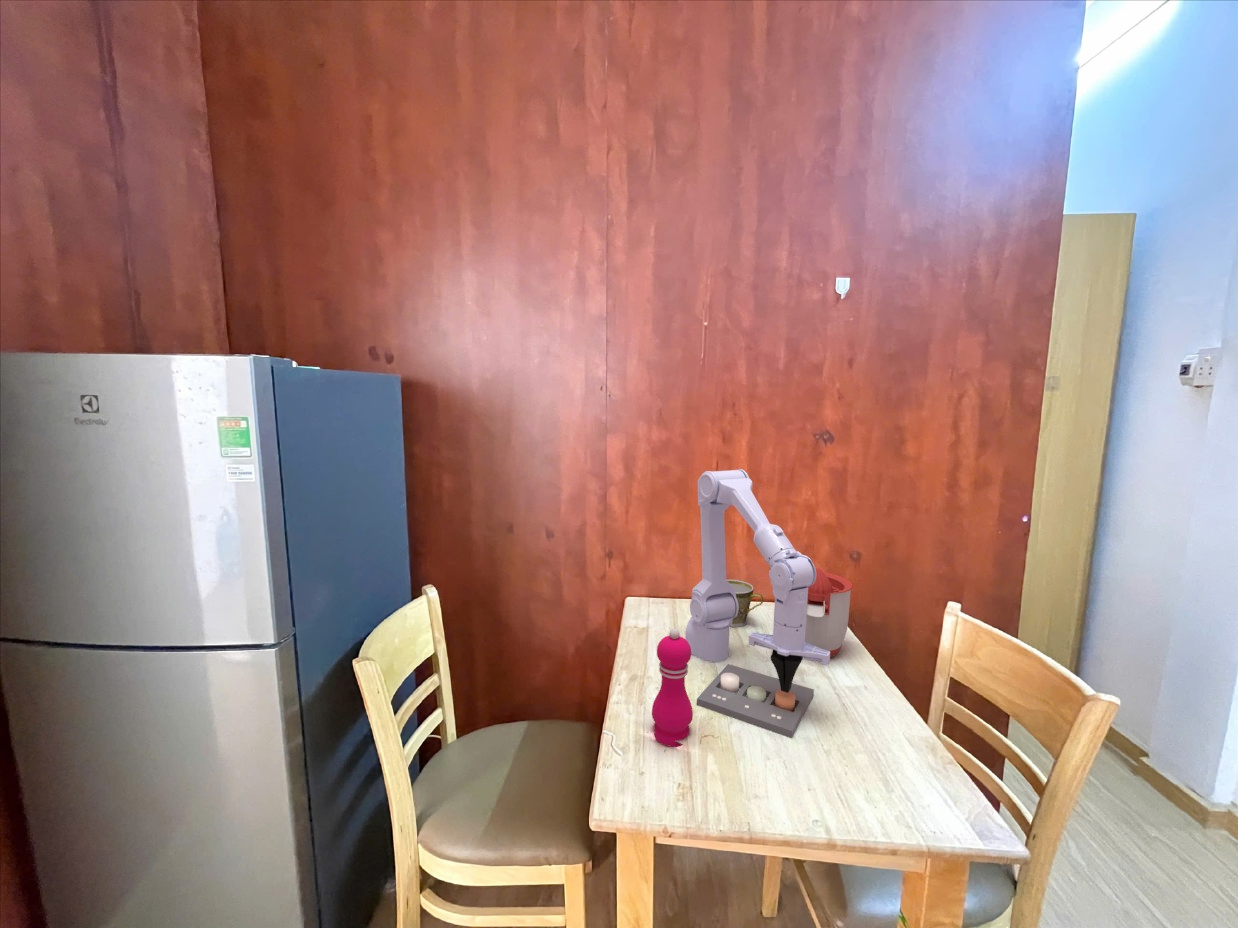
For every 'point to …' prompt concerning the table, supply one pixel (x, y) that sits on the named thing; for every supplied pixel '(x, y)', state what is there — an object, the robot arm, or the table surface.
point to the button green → (756, 693)
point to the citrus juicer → (827, 611)
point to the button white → (730, 682)
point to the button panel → (753, 709)
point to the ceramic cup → (743, 601)
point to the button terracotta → (785, 700)
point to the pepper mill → (672, 691)
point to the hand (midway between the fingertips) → (785, 689)
